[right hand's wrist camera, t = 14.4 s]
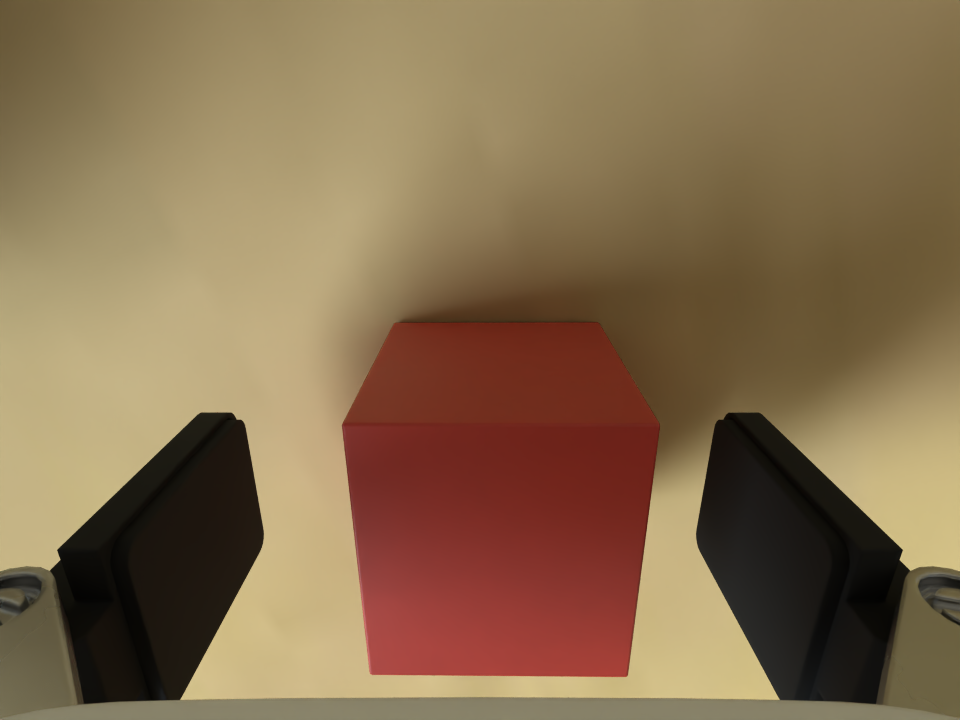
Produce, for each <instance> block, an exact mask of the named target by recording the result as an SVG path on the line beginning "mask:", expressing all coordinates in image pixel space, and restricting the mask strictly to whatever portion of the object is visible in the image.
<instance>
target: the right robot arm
mask: <svg viewBox="0 0 960 720" xmlns="http://www.w3.org/2000/svg"><path fill="white" fill-rule="evenodd" d="M263 539H264V531H263V525H262V519H261V513H260V507H259V502H258V496H257V490H256V484H255V479H254V473H253V467H252V462H251V456H250V450H249V444H248V439H247V433H246V428H245V424H244V422H243V421H242V420H236V417H235V416H234V414H232V413H200V414H198V415H197V416H196V417H195V418H194V419H193V420H192V421H191V422H190V423H189V424H188V425H187V426H186V427H184V428H183V429H182V430H181V431H180V432H179V433H178V434H177V435H176V436H175V437H174V438H173V439H172V440H171V441H170V442H169V443H168V444H167V445H166V446H165V447H164V448H163V449H162V450H161V451H160V452H158V453H157V454H156V455H155V456H154V457H153V458H152V459H151V460H150V461H149V462H148V463H147V464H146V465H145V466H144V467H143V468H142V469H141V470H140V471H139V472H138V473H137V474H136V475H135V476H134V477H133V478H131V479H130V480H129V481H128V482H127V483H126V484H125V485H124V486H123V487H122V488H121V489H120V490H119V491H118V492H117V493H116V494H115V495H114V496H113V497H112V498H111V499H110V500H109V501H108V502H107V503H105V504H104V505H103V506H102V507H101V508H100V509H99V510H98V511H97V512H96V513H95V514H94V515H93V516H92V517H91V518H90V519H89V520H88V521H87V522H86V523H85V524H84V525H83V526H82V527H81V528H80V529H78V530H77V531H76V532H75V533H74V534H73V535H72V536H71V537H70V538H69V539H68V540H67V541H66V542H65V543H64V544H63V545H62V546H61V547H60V548H59V549H58V550H57V551H58V554H59V557H60V561H59V562H58V563H57V564H56V565H55V566H54V567H53V568H52V569H51V570H50V571H48V570H46V569H44V568H41V567H28V566H26V567H19V568H12V569H7V570H4V571H0V720H960V571H956V570H953V569H948V568H941V567H934V566H932V567H919V568H916V569H914V570H912V571H910V570H909V569H908V568H907V567H906V566H905V565H904V564H903V563H902V562H901V561H900V557H901V554H902V551H903V550H902V549H901V548H900V547H899V546H898V545H897V544H896V543H895V542H894V541H893V540H892V539H891V538H890V537H889V536H888V535H887V534H886V533H885V532H884V531H883V530H882V529H880V528H879V527H878V526H877V525H876V524H875V523H874V522H873V521H872V520H871V519H870V518H869V517H868V516H867V515H866V514H865V513H864V512H863V511H862V510H861V509H860V508H859V507H858V506H857V505H856V504H855V503H853V502H852V501H851V500H850V499H849V498H848V497H847V496H846V495H845V494H844V493H843V492H842V491H841V490H840V489H839V488H838V487H837V486H836V485H835V484H834V483H833V482H832V481H831V480H830V479H829V478H827V477H826V476H825V475H824V474H823V473H822V472H821V471H820V470H819V469H818V468H817V467H816V466H815V465H814V464H813V463H812V462H811V461H810V460H809V459H808V458H807V457H806V456H805V455H804V454H803V453H802V452H800V451H799V450H798V449H797V448H796V447H795V446H794V445H793V444H792V443H791V442H790V441H789V440H788V439H787V438H786V437H785V436H784V435H783V434H782V433H781V432H780V431H779V430H778V429H777V428H776V427H774V426H773V425H772V424H771V423H770V422H769V421H768V420H767V419H766V418H765V417H764V416H763V415H762V414H760V413H728V414H726V416H725V417H724V420H718V421H717V422H716V424H715V428H714V433H713V439H712V444H711V450H710V456H709V462H708V467H707V473H706V479H705V484H704V490H703V496H702V502H701V507H700V513H699V519H698V525H697V531H696V539H697V545H698V548H699V550H700V553H701V554H702V556H703V558H704V560H705V562H706V564H707V566H708V567H709V569H710V571H711V573H712V575H713V577H714V579H715V580H716V582H717V584H718V586H719V588H720V590H721V592H722V593H723V595H724V597H725V599H726V601H727V603H728V605H729V606H730V608H731V610H732V612H733V614H734V616H735V617H736V619H737V621H738V623H739V625H740V627H741V629H742V630H743V632H744V634H745V636H746V638H747V640H748V642H749V643H750V645H751V647H752V649H753V651H754V653H755V655H756V656H757V658H758V660H759V662H760V664H761V666H762V668H763V669H764V671H765V673H766V675H767V677H768V679H769V681H770V682H771V684H772V686H773V688H774V690H775V692H776V694H777V695H778V697H779V699H780V700H753V699H687V698H514V697H446V698H273V699H207V700H180V699H181V697H182V695H183V694H184V692H185V690H186V688H187V686H188V684H189V682H190V681H191V679H192V677H193V675H194V673H195V671H196V669H197V668H198V666H199V664H200V662H201V660H202V658H203V656H204V655H205V653H206V651H207V649H208V647H209V645H210V643H211V642H212V640H213V638H214V636H215V634H216V632H217V630H218V629H219V627H220V625H221V623H222V621H223V619H224V617H225V616H226V614H227V612H228V610H229V608H230V606H231V604H232V603H233V601H234V599H235V597H236V595H237V593H238V592H239V590H240V588H241V586H242V584H243V582H244V580H245V579H246V577H247V575H248V573H249V571H250V569H251V567H252V566H253V564H254V562H255V560H256V558H257V556H258V554H259V553H260V550H261V548H262V545H263Z"/></svg>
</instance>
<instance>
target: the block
mask: <svg viewBox="0 0 960 720" xmlns="http://www.w3.org/2000/svg"><path fill="white" fill-rule="evenodd" d="M342 430H343V439H344V448H345V456H346V465H347V474H348V483H349V492H350V501H351V510H352V519H353V528H354V537H355V546H356V555H357V563H358V572H359V581H360V590H361V599H362V608H363V617H364V626H365V635H366V644H367V653H368V662H369V671H370V674H372V675H460V676H577V677H626V676H628V670H629V663H630V655H631V647H632V639H633V631H634V624H635V616H636V608H637V600H638V593H639V585H640V577H641V569H642V562H643V554H644V546H645V538H646V531H647V523H648V515H649V507H650V499H651V492H652V484H653V476H654V468H655V461H656V453H657V445H658V437H659V430H660V424H659V422H658V421H657V419H656V417H655V416H654V414H653V412H652V411H651V409H650V407H649V406H648V404H647V402H646V401H645V399H644V397H643V396H642V394H641V392H640V391H639V389H638V387H637V386H636V384H635V382H634V381H633V379H632V377H631V376H630V374H629V372H628V371H627V369H626V367H625V366H624V364H623V362H622V361H621V359H620V357H619V356H618V354H617V352H616V351H615V349H614V347H613V346H612V344H611V342H610V341H609V339H608V337H607V336H606V334H605V332H604V331H603V329H602V327H601V326H600V324H599V323H598V322H538V323H394V325H393V327H392V328H391V330H390V332H389V334H388V336H387V338H386V340H385V342H384V344H383V346H382V348H381V350H380V352H379V354H378V356H377V358H376V360H375V362H374V363H373V365H372V367H371V369H370V371H369V373H368V375H367V377H366V379H365V381H364V383H363V385H362V387H361V389H360V391H359V393H358V395H357V397H356V399H355V400H354V402H353V404H352V406H351V408H350V410H349V412H348V414H347V416H346V418H345V420H344V422H343V424H342Z"/></svg>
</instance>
